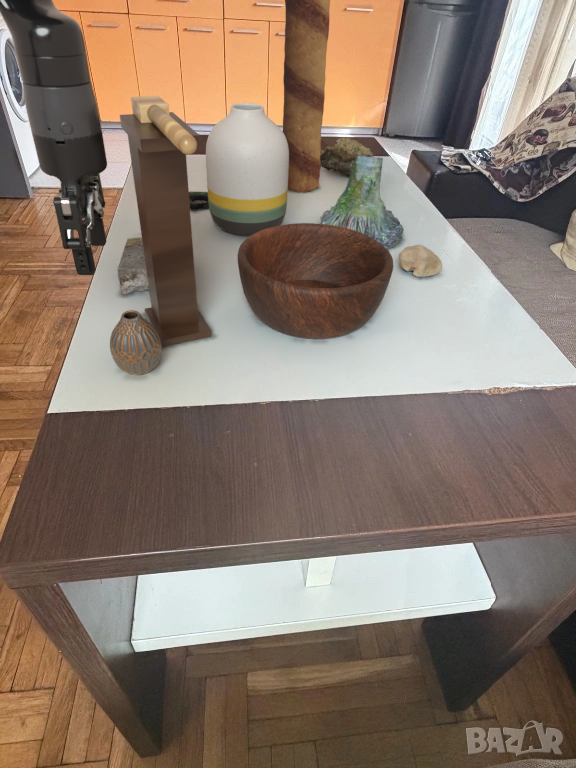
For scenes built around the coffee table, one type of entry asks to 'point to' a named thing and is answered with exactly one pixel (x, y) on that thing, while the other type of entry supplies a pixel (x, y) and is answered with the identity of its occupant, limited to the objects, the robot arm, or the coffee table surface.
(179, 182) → the stand
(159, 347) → the vase
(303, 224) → the wooden bowl
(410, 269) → the stone
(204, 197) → the gun
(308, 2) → the wafer roll
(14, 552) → the coffee table surface
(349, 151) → the mineral specimen
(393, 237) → the tree stump
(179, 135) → the wooden mallet
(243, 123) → the vase
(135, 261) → the geological specimen
